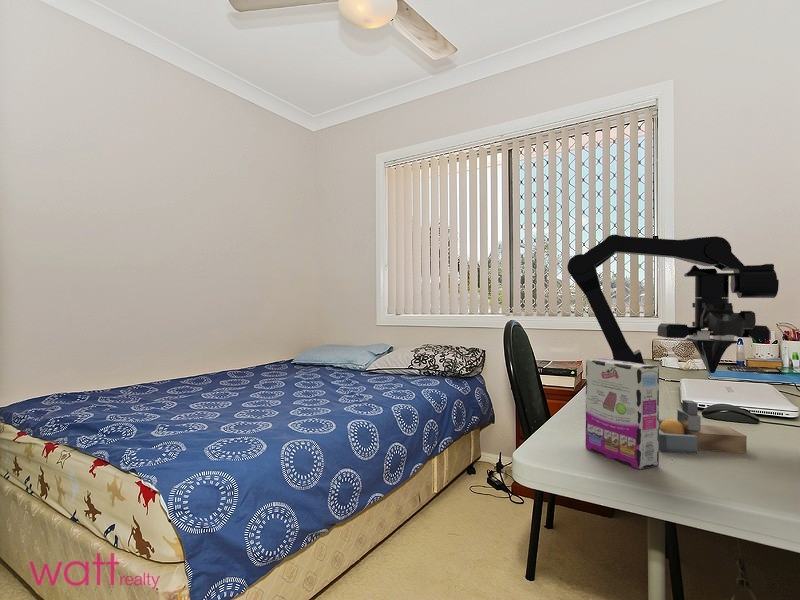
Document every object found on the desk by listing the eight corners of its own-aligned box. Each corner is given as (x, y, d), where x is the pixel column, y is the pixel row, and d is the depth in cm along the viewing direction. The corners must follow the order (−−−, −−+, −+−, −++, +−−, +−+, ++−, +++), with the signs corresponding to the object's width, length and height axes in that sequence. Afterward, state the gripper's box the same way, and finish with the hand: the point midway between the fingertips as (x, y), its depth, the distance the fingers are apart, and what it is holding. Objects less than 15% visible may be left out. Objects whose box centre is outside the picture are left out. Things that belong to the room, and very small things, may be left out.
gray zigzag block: (688, 430, 79) (688, 404, 79) (677, 422, 84) (677, 398, 84) (700, 430, 79) (700, 405, 79) (688, 423, 83) (689, 399, 83)
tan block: (692, 449, 78) (692, 432, 78) (678, 439, 84) (679, 423, 84) (746, 453, 76) (746, 436, 76) (728, 442, 82) (728, 426, 82)
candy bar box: (660, 466, 70) (661, 365, 70) (639, 471, 68) (639, 367, 68) (603, 444, 81) (604, 357, 81) (583, 448, 79) (584, 358, 79)
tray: (660, 451, 77) (660, 434, 77) (639, 432, 88) (639, 418, 88) (697, 454, 76) (697, 436, 76) (672, 435, 87) (672, 420, 87)
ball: (689, 423, 79) (687, 445, 79) (680, 418, 83) (678, 438, 83) (665, 420, 80) (663, 442, 80) (657, 415, 84) (655, 435, 84)
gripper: (677, 297, 84) (677, 377, 84) (789, 298, 80) (789, 381, 80) (656, 298, 95) (656, 368, 95) (754, 298, 91) (753, 372, 91)
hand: (711, 372), depth 90 cm, fingers closed
